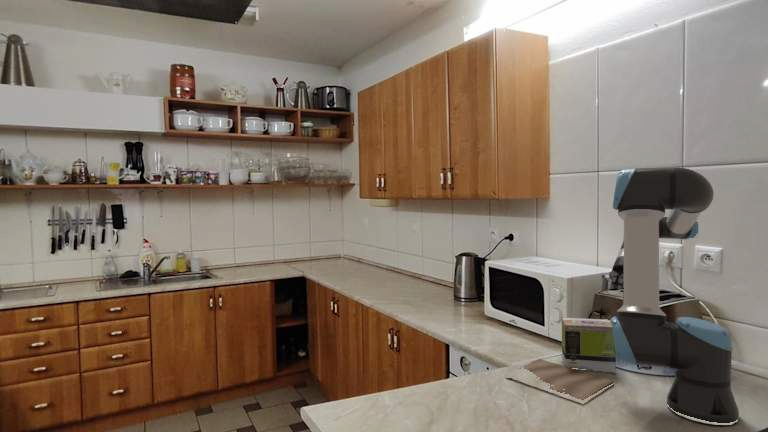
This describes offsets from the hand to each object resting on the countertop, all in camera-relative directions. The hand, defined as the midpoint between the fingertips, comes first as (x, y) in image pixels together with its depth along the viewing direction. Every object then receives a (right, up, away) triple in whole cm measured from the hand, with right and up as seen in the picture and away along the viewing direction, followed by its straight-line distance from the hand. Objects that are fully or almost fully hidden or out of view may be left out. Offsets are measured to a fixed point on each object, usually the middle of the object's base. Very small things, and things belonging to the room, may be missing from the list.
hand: (605, 317), depth 158 cm
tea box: (-10, -14, -8) cm, 19 cm away
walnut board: (-24, -15, -20) cm, 34 cm away
